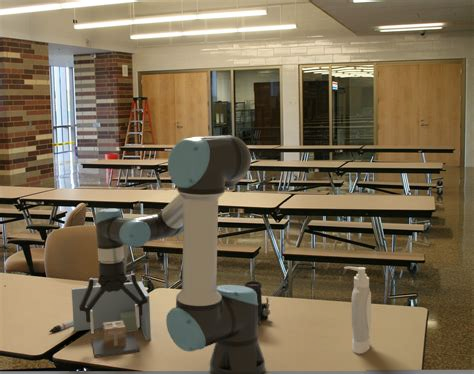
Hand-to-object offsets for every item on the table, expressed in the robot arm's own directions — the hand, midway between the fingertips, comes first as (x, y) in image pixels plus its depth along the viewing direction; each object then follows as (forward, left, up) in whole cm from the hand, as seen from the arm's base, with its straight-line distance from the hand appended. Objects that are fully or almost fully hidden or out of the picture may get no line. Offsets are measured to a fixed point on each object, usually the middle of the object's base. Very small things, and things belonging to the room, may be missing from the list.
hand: (115, 329), depth 190 cm
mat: (0, 0, -5) cm, 6 cm away
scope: (+5, -46, -6) cm, 47 cm away
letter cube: (+1, 0, -5) cm, 5 cm away
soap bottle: (-25, -68, -6) cm, 73 cm away
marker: (+23, +14, -6) cm, 28 cm away
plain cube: (+14, -6, -6) cm, 17 cm away
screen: (+10, 0, -5) cm, 12 cm away
